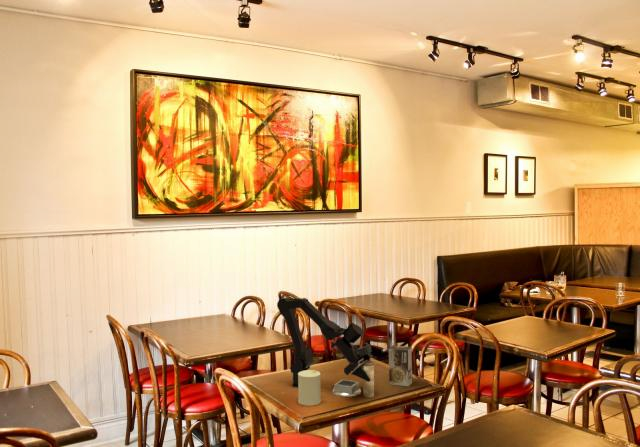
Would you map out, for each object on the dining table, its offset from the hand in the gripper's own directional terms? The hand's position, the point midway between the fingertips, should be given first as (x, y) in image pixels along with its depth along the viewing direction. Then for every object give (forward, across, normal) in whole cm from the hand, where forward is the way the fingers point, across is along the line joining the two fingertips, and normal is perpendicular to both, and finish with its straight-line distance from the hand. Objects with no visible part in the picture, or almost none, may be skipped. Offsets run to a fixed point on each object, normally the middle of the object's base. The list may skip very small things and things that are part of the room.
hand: (371, 379), depth 226 cm
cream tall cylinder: (+4, 0, +6) cm, 7 cm away
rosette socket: (-3, 0, +13) cm, 13 cm away
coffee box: (+9, +21, +1) cm, 23 cm away
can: (-9, -17, +19) cm, 27 cm away
